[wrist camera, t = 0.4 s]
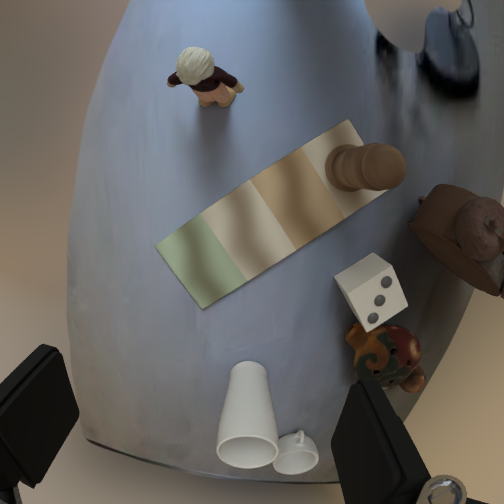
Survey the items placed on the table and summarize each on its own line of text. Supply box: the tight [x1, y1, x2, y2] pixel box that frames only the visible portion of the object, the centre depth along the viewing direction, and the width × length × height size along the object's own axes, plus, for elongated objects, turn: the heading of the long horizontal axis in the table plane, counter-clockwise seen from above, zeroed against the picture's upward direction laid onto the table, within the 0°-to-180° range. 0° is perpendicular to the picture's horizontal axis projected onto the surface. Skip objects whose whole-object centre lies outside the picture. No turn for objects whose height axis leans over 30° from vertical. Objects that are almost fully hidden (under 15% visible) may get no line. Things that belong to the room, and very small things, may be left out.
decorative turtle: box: [345, 322, 426, 393], centre depth 36 cm, size 10×15×8 cm, turn 59°
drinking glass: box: [216, 361, 279, 468], centre depth 34 cm, size 7×7×15 cm
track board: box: [155, 119, 387, 309], centre depth 35 cm, size 28×10×1 cm, turn 124°
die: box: [334, 252, 408, 332], centre depth 35 cm, size 6×6×6 cm
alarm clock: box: [408, 184, 504, 299], centre depth 26 cm, size 14×7×20 cm, turn 56°
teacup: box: [272, 430, 319, 475], centre depth 42 cm, size 10×8×5 cm
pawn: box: [325, 143, 406, 192], centre depth 27 cm, size 6×6×12 cm
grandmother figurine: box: [167, 47, 244, 107], centre depth 26 cm, size 8×4×13 cm, turn 93°
